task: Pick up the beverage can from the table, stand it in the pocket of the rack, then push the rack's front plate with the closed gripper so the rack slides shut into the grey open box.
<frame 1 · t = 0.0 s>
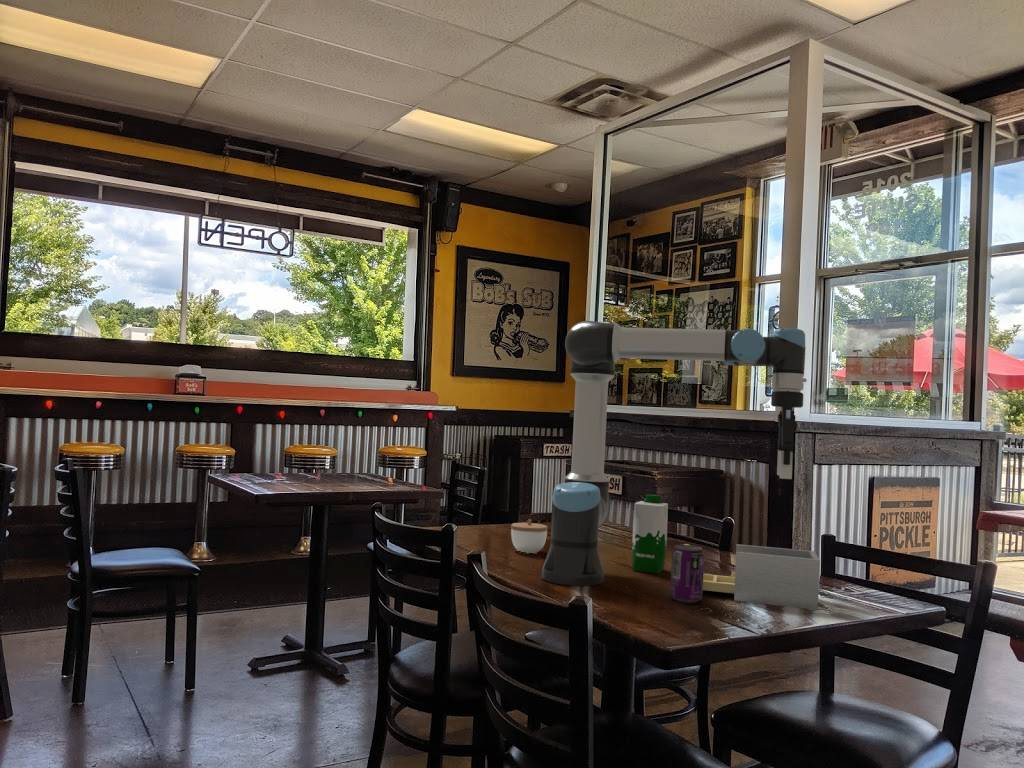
hand: (784, 477, 200), 28 cm above the table, fingers open, 13 cm apart
milk carton: (648, 570, 218), on the table
beverage can: (686, 601, 183), on the table
grey open box: (774, 599, 189), on the table
lidded jar: (527, 552, 237), on the table
rack: (720, 571, 193), point 5 cm above the table, slide at 11.0 cm
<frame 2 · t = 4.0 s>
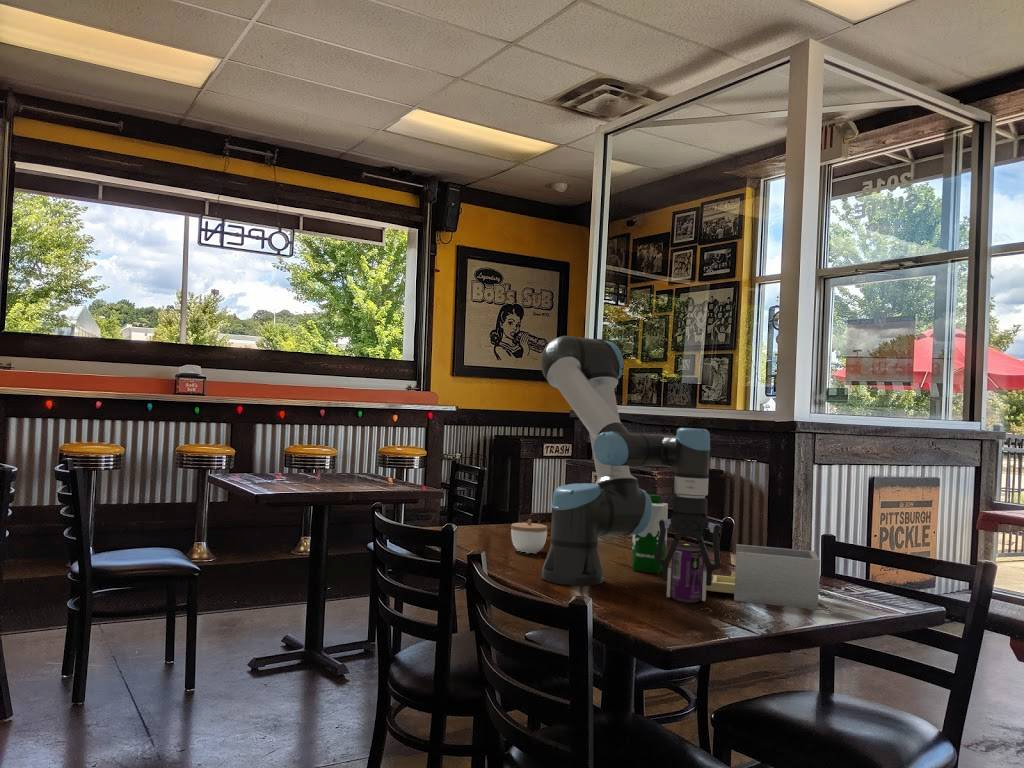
hand: (686, 597, 183), 1 cm above the table, fingers closed on beverage can, 7 cm apart
beverage can: (686, 601, 183), on the table, touching gripper
everything else where it was.
when the fingers open (4 cm above the table, at t = 9.3 s): beverage can drops 2 cm, resting on rack.
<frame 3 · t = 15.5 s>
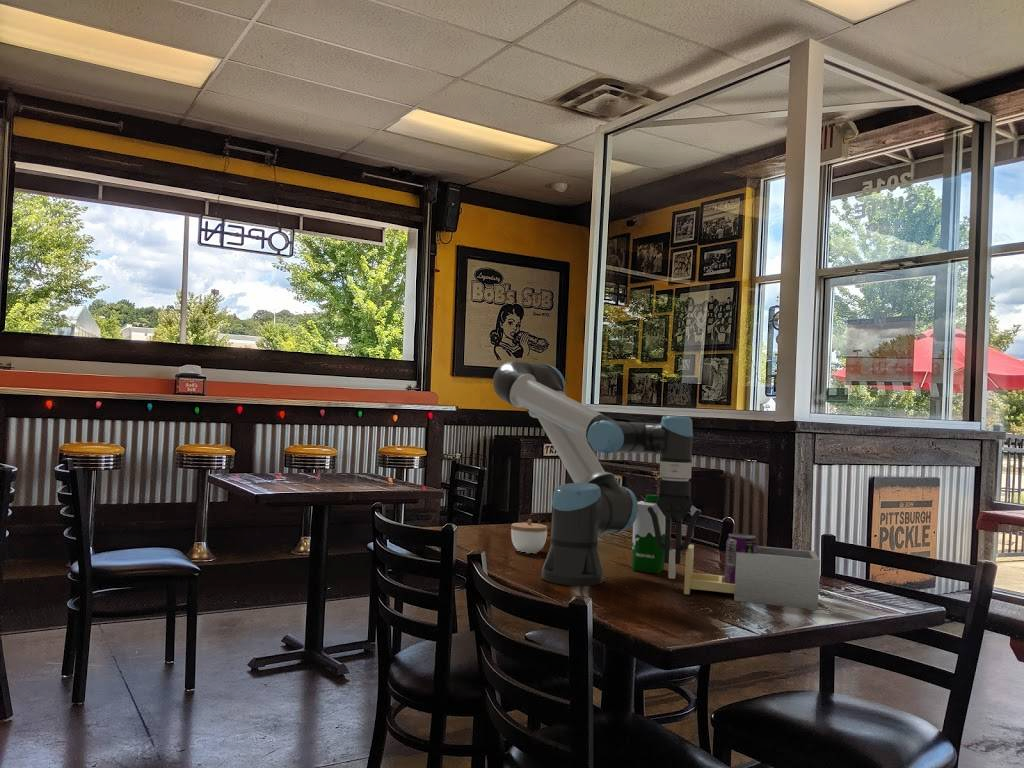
hand: (671, 577, 196), 3 cm above the table, fingers closed
beverage can: (739, 587, 192), point 2 cm above the table, touching rack
rack: (725, 572, 193), point 5 cm above the table, slide at 9.8 cm, touching beverage can, gripper
everything else where it was.
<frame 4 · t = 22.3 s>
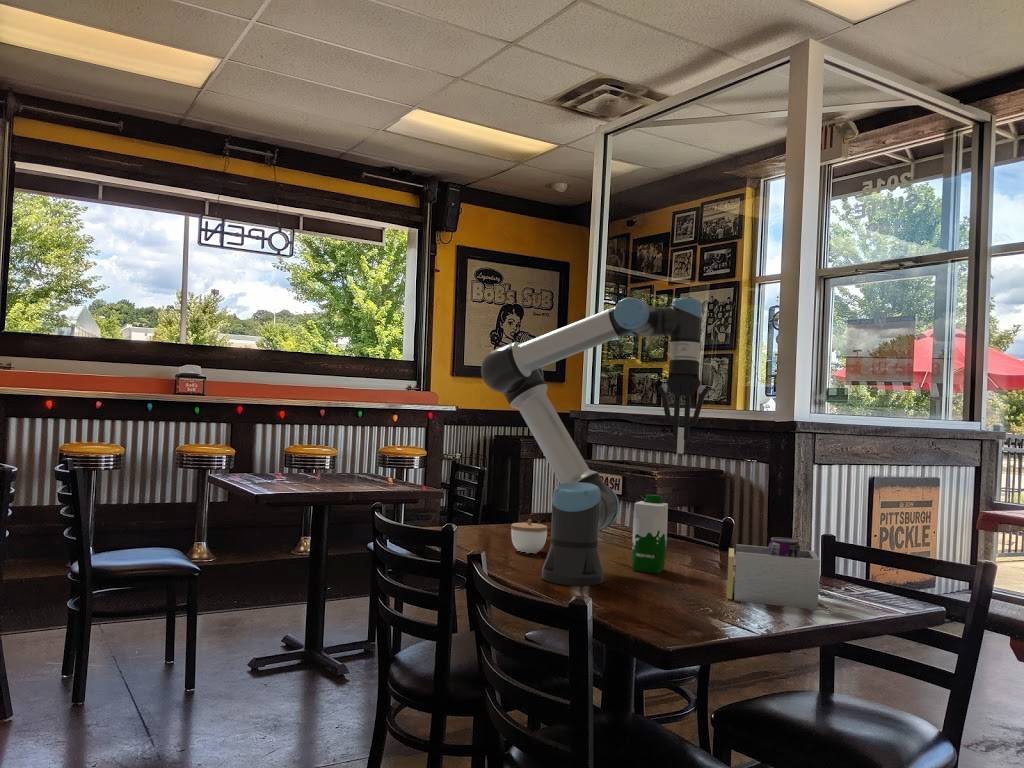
hand: (680, 453, 204), 32 cm above the table, fingers closed
beverage can: (782, 591, 189), point 2 cm above the table, touching rack
rack: (767, 576, 190), point 5 cm above the table, slide at 0.2 cm, touching beverage can
everything else where it was.
at the end: rack slide at 0.2 cm; beverage can inside the target area on the grey open box (1.8 cm from its centre), point 1.9 cm above the grey open box's base; beverage can tilted 0° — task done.
